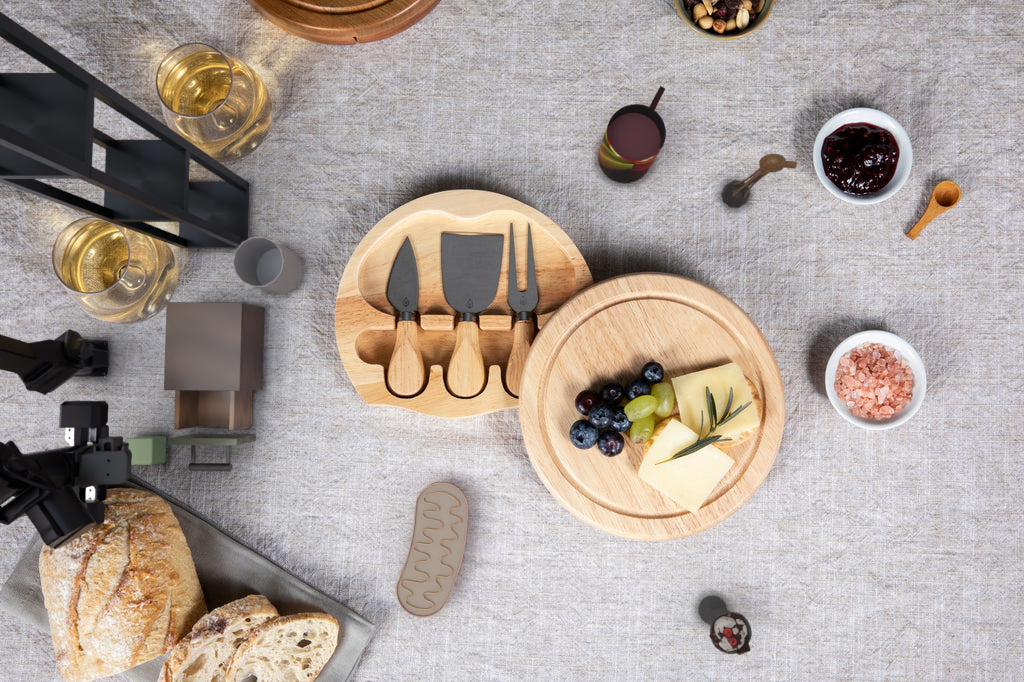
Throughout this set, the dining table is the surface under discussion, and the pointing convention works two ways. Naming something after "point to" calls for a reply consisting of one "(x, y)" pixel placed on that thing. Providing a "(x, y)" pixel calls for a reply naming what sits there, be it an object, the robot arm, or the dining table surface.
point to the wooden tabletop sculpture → (753, 180)
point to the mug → (632, 141)
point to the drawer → (212, 422)
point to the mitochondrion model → (434, 550)
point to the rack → (110, 155)
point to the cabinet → (213, 346)
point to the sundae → (725, 626)
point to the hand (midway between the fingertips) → (116, 456)
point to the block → (147, 449)
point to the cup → (267, 265)
